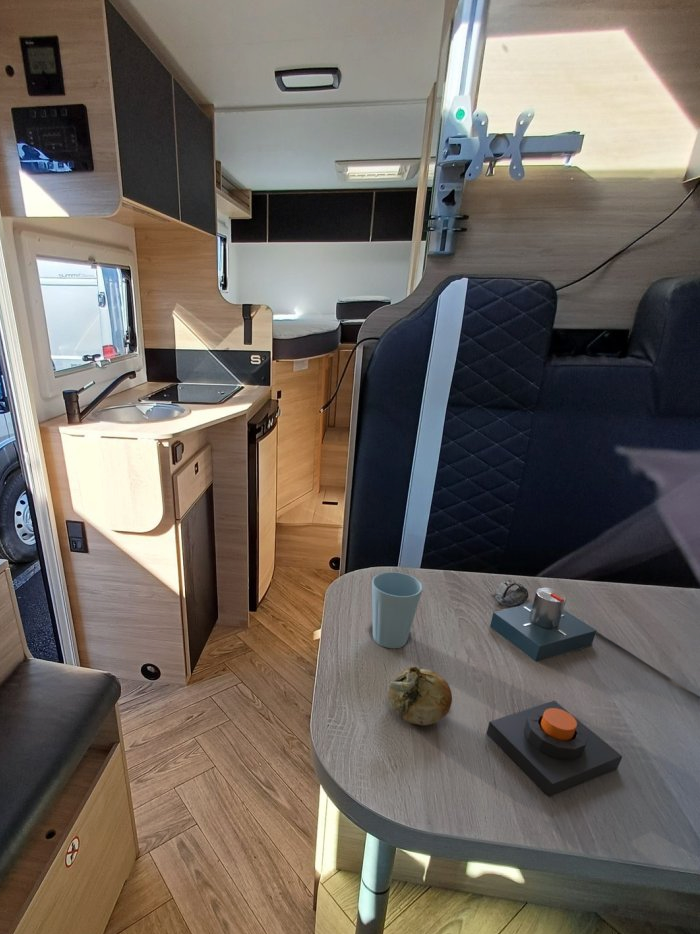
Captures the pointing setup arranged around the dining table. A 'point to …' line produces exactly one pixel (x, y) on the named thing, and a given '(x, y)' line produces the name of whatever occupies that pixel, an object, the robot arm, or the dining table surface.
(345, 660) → the dining table surface
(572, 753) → the button base
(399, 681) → the onion
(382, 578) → the cup
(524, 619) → the dial panel
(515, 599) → the wristwatch
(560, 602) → the temp dial
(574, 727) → the button
